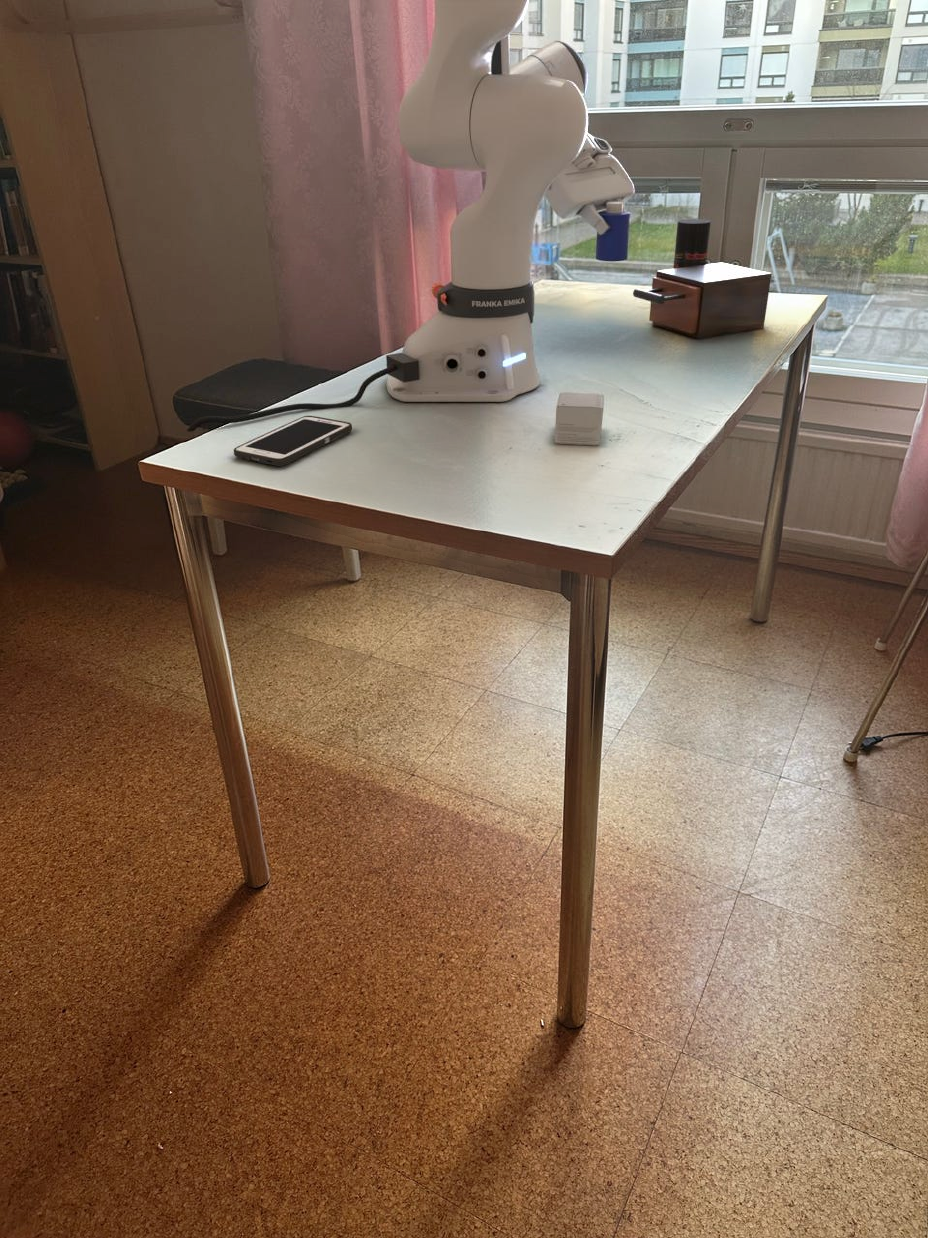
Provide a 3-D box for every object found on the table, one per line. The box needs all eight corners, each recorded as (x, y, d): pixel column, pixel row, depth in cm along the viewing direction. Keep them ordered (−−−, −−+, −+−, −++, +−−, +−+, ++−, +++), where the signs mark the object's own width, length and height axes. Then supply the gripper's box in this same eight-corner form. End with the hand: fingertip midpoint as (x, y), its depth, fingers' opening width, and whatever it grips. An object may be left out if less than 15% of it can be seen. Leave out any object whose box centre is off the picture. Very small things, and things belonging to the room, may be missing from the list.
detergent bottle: (600, 262, 148) (603, 205, 144) (592, 256, 152) (594, 201, 148) (631, 260, 149) (635, 203, 144) (622, 255, 153) (625, 199, 149)
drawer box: (698, 338, 154) (704, 282, 149) (652, 324, 163) (656, 270, 159) (763, 327, 159) (771, 273, 155) (715, 314, 169) (721, 262, 164)
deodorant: (704, 308, 173) (713, 222, 166) (672, 308, 173) (680, 223, 166) (698, 301, 178) (706, 218, 171) (667, 301, 179) (675, 219, 171)
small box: (600, 446, 110) (603, 406, 108) (553, 444, 111) (554, 405, 109) (602, 430, 115) (604, 392, 113) (557, 428, 116) (558, 390, 114)
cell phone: (231, 457, 109) (229, 449, 109) (307, 421, 120) (306, 414, 120) (281, 468, 106) (280, 460, 105) (355, 430, 117) (354, 422, 116)
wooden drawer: (663, 338, 151) (668, 292, 147) (622, 324, 160) (625, 280, 156) (752, 323, 158) (758, 279, 155) (708, 311, 167) (713, 269, 163)
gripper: (544, 149, 139) (595, 222, 139) (612, 140, 152) (660, 207, 152) (519, 180, 144) (569, 251, 143) (588, 168, 157) (634, 234, 157)
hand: (616, 228), depth 148 cm, fingers closed on detergent bottle, 5 cm apart
